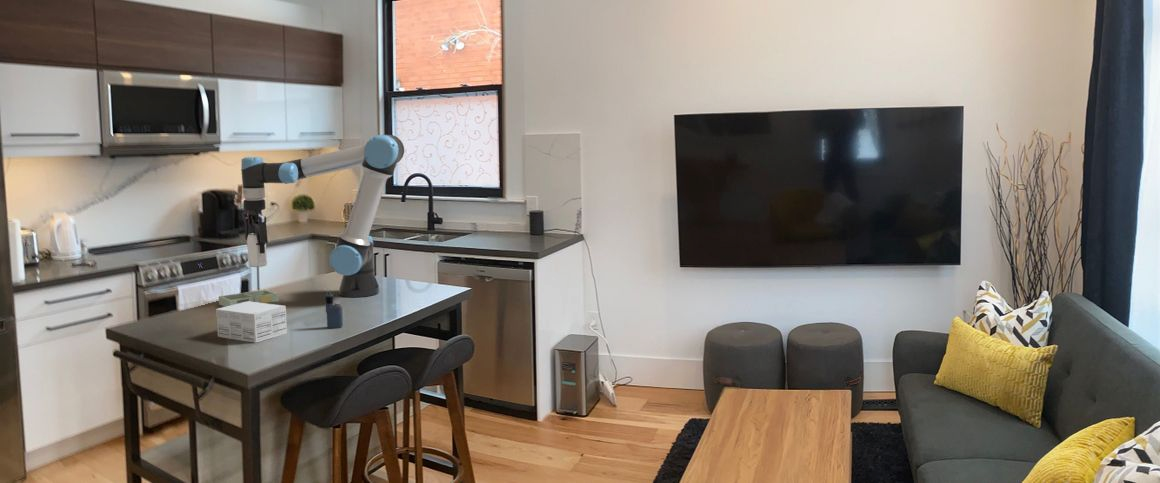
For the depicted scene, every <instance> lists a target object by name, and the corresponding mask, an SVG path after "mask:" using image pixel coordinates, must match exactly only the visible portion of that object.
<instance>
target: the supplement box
mask: <svg viewBox="0 0 1160 483" xmlns="http://www.w3.org/2000/svg"><path fill="white" fill-rule="evenodd" d="M286 308H287V307H286V305H281V304H273V303H258V302H251V301H247V302H243V303H239V304H235V305H231V306H226V307H224V306H221V307H218V308H216V309H215V313H216V330H217V337H218V338H223V339H224V338H225V339H229V340H230V339H231V340H234V341H235V340H237V341H243V342H247V343H248V342H249V343H255V344H256V343H259V342H262V341H266V340H269V339H273V338H276V337H279V336H283V335H286V334H288V325H287V309H286Z"/></svg>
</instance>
